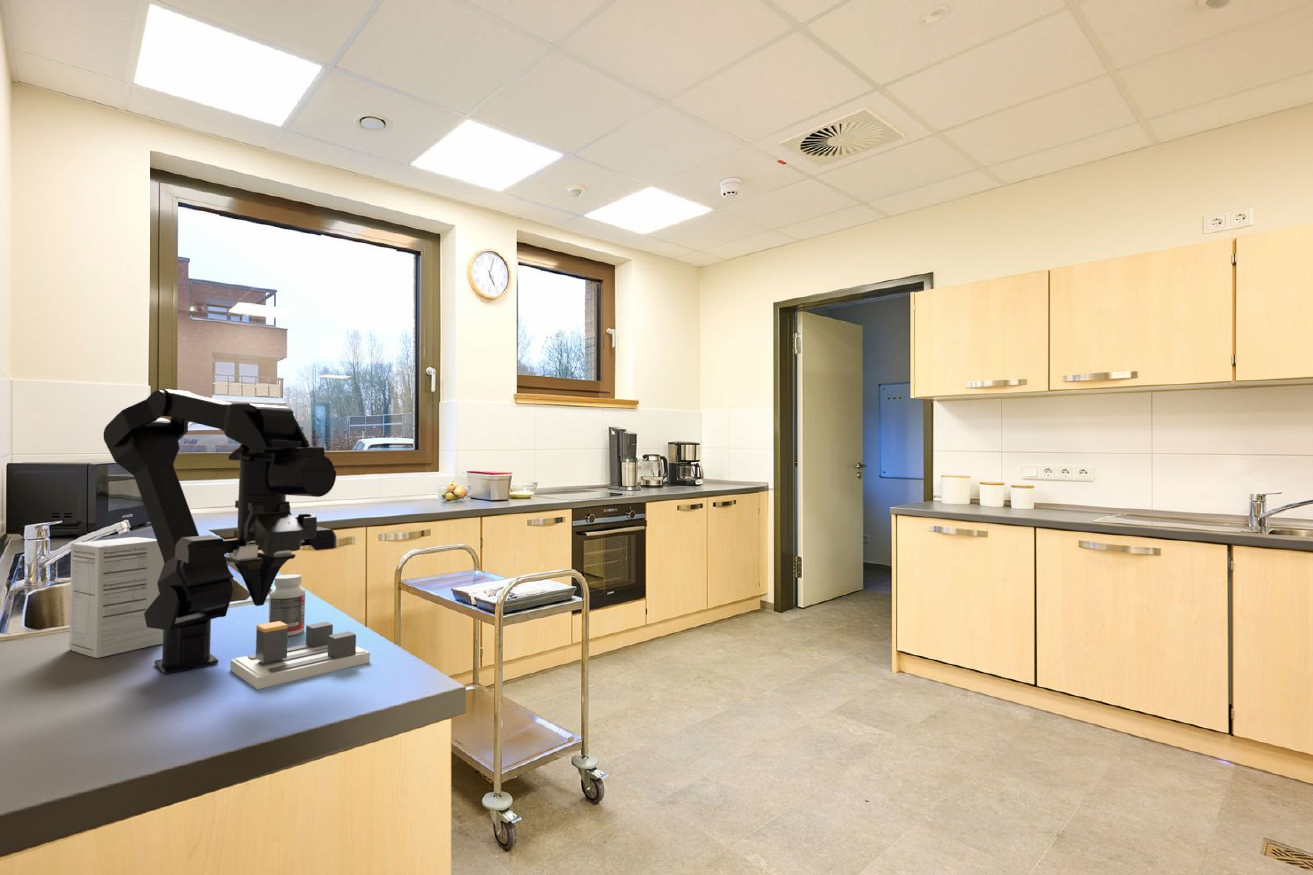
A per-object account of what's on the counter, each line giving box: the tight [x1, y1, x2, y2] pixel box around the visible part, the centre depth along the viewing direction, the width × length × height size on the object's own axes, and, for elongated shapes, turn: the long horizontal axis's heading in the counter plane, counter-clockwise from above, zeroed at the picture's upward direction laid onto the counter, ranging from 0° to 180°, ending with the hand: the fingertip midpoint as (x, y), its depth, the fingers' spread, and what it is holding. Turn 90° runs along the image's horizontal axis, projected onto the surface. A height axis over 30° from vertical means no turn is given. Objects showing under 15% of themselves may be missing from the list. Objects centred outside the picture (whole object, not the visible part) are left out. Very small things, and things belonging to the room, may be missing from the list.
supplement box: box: [68, 536, 164, 659], centre depth 104 cm, size 10×9×17 cm
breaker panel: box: [229, 621, 371, 690], centre depth 95 cm, size 11×15×4 cm
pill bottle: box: [268, 574, 306, 637], centre depth 112 cm, size 5×5×10 cm
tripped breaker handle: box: [255, 621, 288, 663], centre depth 92 cm, size 3×3×5 cm
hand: (258, 605), depth 91 cm, fingers closed
